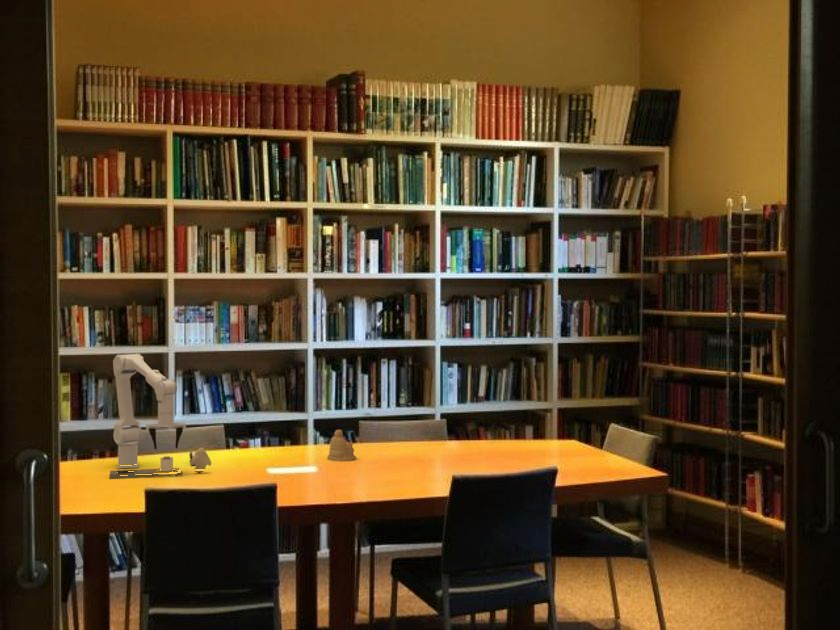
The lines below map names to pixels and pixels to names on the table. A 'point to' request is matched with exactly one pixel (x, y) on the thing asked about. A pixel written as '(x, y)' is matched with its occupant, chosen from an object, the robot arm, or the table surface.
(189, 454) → the dark labeled box
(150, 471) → the grey slotted panel
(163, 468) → the wood-topped square block
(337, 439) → the statue
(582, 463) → the table surface
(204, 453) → the arrowhead
